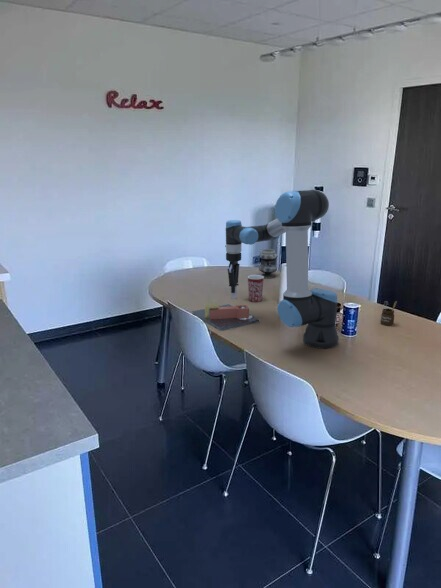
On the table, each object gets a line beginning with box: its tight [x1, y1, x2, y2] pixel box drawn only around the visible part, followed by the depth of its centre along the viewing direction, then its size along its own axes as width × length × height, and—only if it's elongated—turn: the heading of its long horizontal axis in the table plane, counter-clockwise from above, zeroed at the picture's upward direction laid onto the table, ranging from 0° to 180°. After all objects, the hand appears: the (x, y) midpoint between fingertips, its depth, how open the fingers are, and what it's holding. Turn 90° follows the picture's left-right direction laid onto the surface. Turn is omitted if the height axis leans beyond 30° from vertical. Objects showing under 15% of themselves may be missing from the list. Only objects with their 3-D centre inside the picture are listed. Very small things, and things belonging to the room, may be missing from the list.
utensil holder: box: [380, 300, 398, 327], centre depth 217 cm, size 6×6×12 cm
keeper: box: [203, 301, 220, 319], centre depth 224 cm, size 7×6×8 cm
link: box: [210, 304, 250, 319], centre depth 224 cm, size 19×6×5 cm, turn 96°
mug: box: [247, 274, 265, 303], centre depth 255 cm, size 13×9×14 cm
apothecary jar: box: [258, 248, 278, 279], centre depth 301 cm, size 12×12×18 cm
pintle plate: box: [192, 304, 260, 331], centre depth 228 cm, size 28×22×1 cm
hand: (233, 298), depth 229 cm, fingers closed
